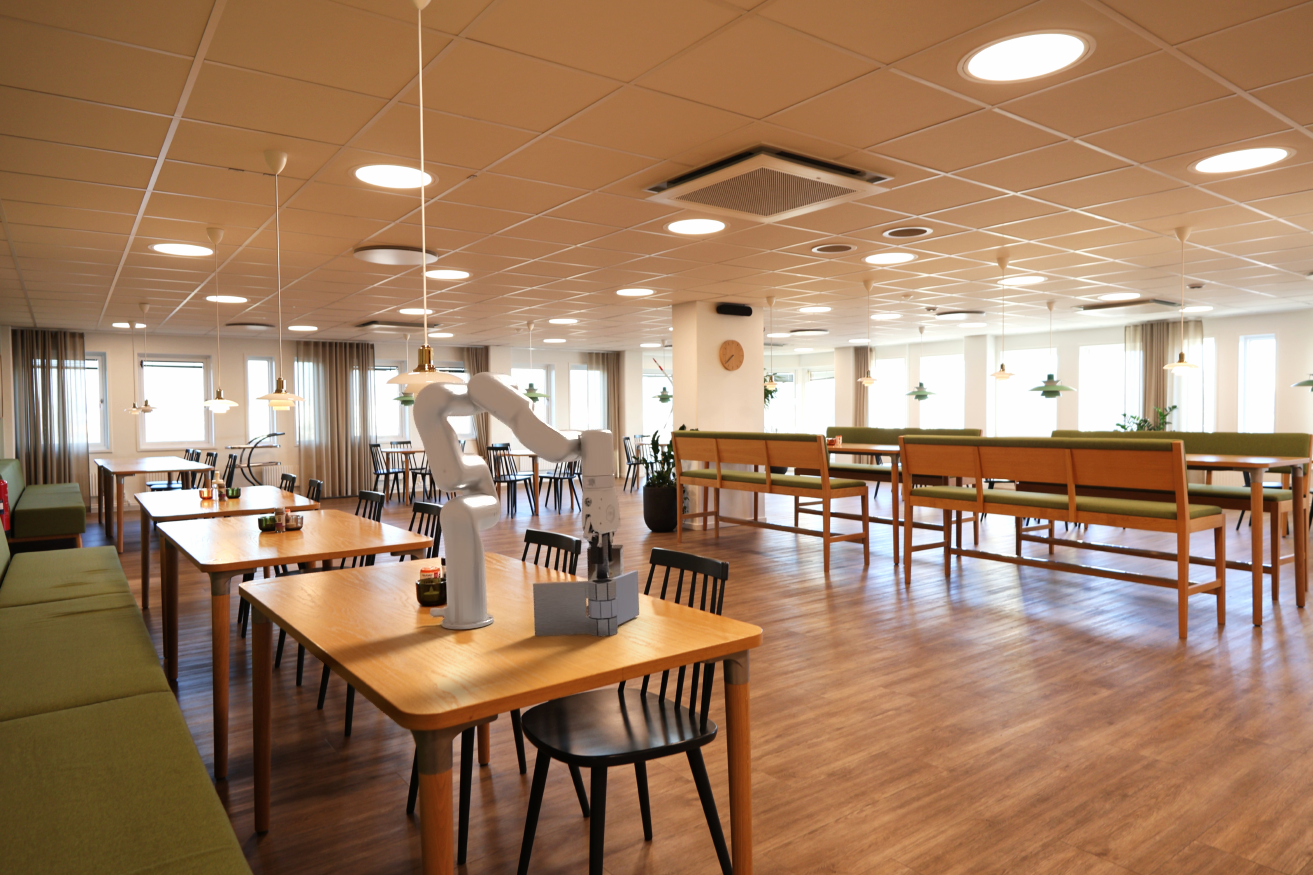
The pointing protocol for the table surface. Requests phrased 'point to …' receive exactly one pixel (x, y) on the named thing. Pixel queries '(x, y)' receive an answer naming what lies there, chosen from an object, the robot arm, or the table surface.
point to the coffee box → (614, 566)
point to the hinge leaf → (619, 600)
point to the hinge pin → (603, 569)
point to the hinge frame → (572, 608)
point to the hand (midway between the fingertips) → (601, 561)
